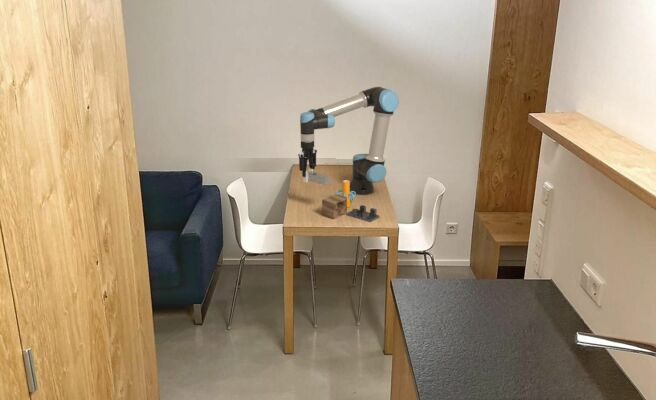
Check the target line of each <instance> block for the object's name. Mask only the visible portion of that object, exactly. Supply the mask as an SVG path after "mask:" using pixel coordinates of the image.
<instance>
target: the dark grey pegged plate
mask: <svg viewBox="0 0 656 400" xmlns="http://www.w3.org/2000/svg"><path fill="white" fill-rule="evenodd" d="M369 210H370V211H367V206H366V205H363V204H362V205H359V209H358V208H352V209H351V211H350V210H349V211H347V213H346V214H345V215H346V216H348V217H351V218H355V219H358V220H361V221H365V222H368V223H372V222H373V221H376V220H377V219H380V215H379V214H377V208H373V207H371V208H370V209H369Z"/></svg>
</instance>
